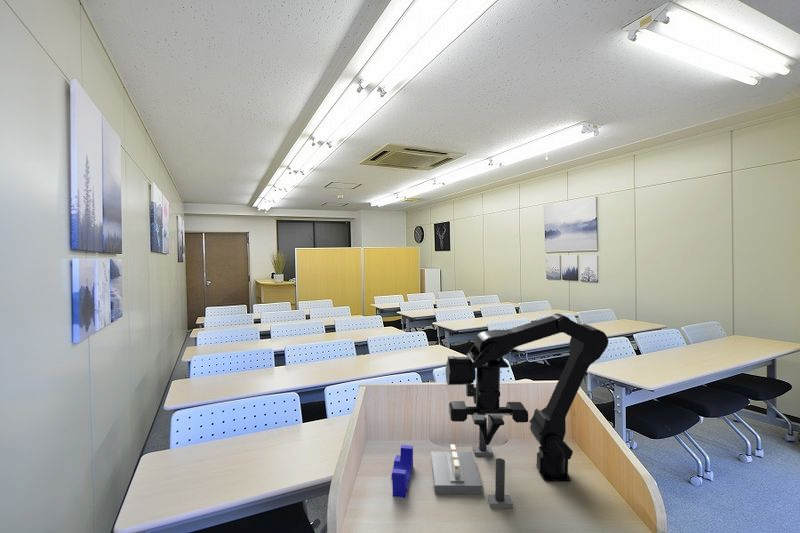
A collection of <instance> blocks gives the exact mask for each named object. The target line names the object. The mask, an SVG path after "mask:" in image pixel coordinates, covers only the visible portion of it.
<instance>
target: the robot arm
mask: <svg viewBox="0 0 800 533" xmlns="http://www.w3.org/2000/svg"><path fill="white" fill-rule="evenodd" d="M561 333H563V334H565V335H567V336H569V337H570V340H569V357H568V359H567V361H566V364H565V366H564V368H563V370H562V372H561V375H560V377H559V379H558V380H557V383H556V386H555V388H554V390H553V392H552V394H551V396H550V399H549V401H548V404H547V405H546V406H545V407H544V408H542V409H539V408H535V410H534V412H533V415H532V417H531V418H530V420H529V411H528V410H527V409H526V407H525V405H524V404H523V403H522V402H521V401H507V402H506V403H505V404H506V406H500V399H501V386H500V385H501V369H505V368H507V369H508V368H509V367H510V364H508V362H506V360H505V359H504V358H503V357H504V356H506V355H508V354H509V353H510V352H512V351H513V350H514V349H516V348H518V347H520V346H523V345H526V344H530V343H533V342H536V341H539V340H542V339H545V338H548V337H551V336H555V335H558V334H561ZM608 338H609V337H608V336H607V334H606V333H605V332H604V331H602V330H601V329H598V328H596V327H594V326H592V325H589V324H585V323H583V324H580V323H578V322H575V321H573V320H572V319H571V318H570V317H568V316H566V315H564V314H561V313H558V312H557V313H553V314H551V315H550V316H545V317H543V318H541V319H537V320H533V321H530V322H528V323H525V324H522V325H518V326H515V327H512V328H509V329H507V328H506V329H492V330H491V329H490V330H486V331H485V330H484V331H482V332H479V333H478V334H477V336H476V338H475V339H474V344H473V345H472V346H471V347H470V348H469V350H468V351H467V352H466V356H453V355H451V356H450V355H447V361H446V366H445V381H446V385H448V386H465V395H466V397H472V399H473V404H474V405H475V406H467V405H466V403H465V401H464V400H462V401H461V400H457V401H456V400H455V401H453V400H452V401H450V402H449V403H448V413H449V414H448V415H449V418H450V419H449V420H450V421H452V422H463V423H464V422H465V421H466V420H467V419H468V416H471V418H472V421H473V424H474V425H476V426H478V427H480V429H481V432H482V435H483V439H484V442H485V445H487V446H489V445H490V444H491V442H492V440H493V438H494V436H495V434H496V433H497V431H498V430H499V428H500V427H501V426H504V425H505V421H504V419H503V418H504V416H511V419H512V421H514V422H515V423H528V422H529V423H530V424H529V425H530V426H529V429H530V432H531V434H532V436H533V437H534V438H535V440H536V441H537V443H538V444H539V446H538V452H537V453H536V464H535V466H536V469H537V471H538V472H539V474H540V475H541V477H542V479H543V480H544V481H545V482H547V481H548V482H553V481H554V482H570V481H571V476H570V475H569V474H568V473H569V472H568V471H569V460H571V459H572V456H573V454H574V453H573V452H574V451H573V450H572V449H571V447H570V446H569V445H568V444H567V443H566V441H564V440H565V436H566V432H567V431H566V430H567V429H566V428H567V427H566V424H567V422H566V418H567V415H568V414H569V411H570V409H571V407H572V404H573V402H574V400H575V398H576V396H577V393H578V391H579V389H580V387H581V385H582V383H583V380H584V379H585V376H586V374H587V372H588V370H589V369H590V368H589V367H590V366H591V365H592V364H593V363H594V362H597V360H599V359H600V358H601V357H602V355H603V353H604V352H605V351H606V350H607V348H608V346H609V342H610V341H609V339H608ZM474 381H475V382H474ZM474 383H475V384H474ZM486 416H487V423H486V420H485V418H484V417H486Z"/></svg>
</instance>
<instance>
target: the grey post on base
mask: <svg viewBox="0 0 800 533" xmlns="http://www.w3.org/2000/svg"><path fill="white" fill-rule="evenodd" d="M484 418H485V420H486V423H487V424H488V417H486V416H485V417H484ZM478 427H479V426H478ZM478 430H479V431H478V432H479V433H478V435H479V438H478V440H479V441H478V442H479V444H478V445H477V446H476V445H475V446H472V453H473V456H475V457H493V456H494V451H493V448H492V446H488V445H485V442H484V439H483V435H482V432H481V429H480V427H479V429H478Z"/></svg>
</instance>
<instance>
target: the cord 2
mask: <svg viewBox="0 0 800 533" xmlns="http://www.w3.org/2000/svg"><path fill="white" fill-rule="evenodd" d="M505 474H506V461H505V460H504V459H503V458H501V457H500V458H496V459H495V494H487V497H486V499H487V502H488V505H489V509H513V508H514V506H513V505H514V504H513V501H512V498H511V496H510V494H506V493H505V490H506V489H505V482H506V481H505V480H506V479H505V478H506V477H505V476H506V475H505Z"/></svg>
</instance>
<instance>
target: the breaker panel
mask: <svg viewBox="0 0 800 533" xmlns="http://www.w3.org/2000/svg"><path fill="white" fill-rule="evenodd" d="M456 452H457V456H458V461H459V466H460V475H459V478H456V477H455V476H454V471H453V465H452V459H451V455H450V451H430V453H431V455H430V458H431V470H432V478H433V490H434V494H446V495H447V494H448V495H449V494H453V495H454V494H455V495H456V494H458V495H460V494H461V495H463V494H465V495H468V494H469V495H472V494H473V495H482V494H483V493H482V492H483V491H482V490H483V489H482V486H483V485H482V482H481V481H482V480H481V478H480V475H479V471H478V468H477V464H476V462H475V457H474V453H473V451H456Z"/></svg>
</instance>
